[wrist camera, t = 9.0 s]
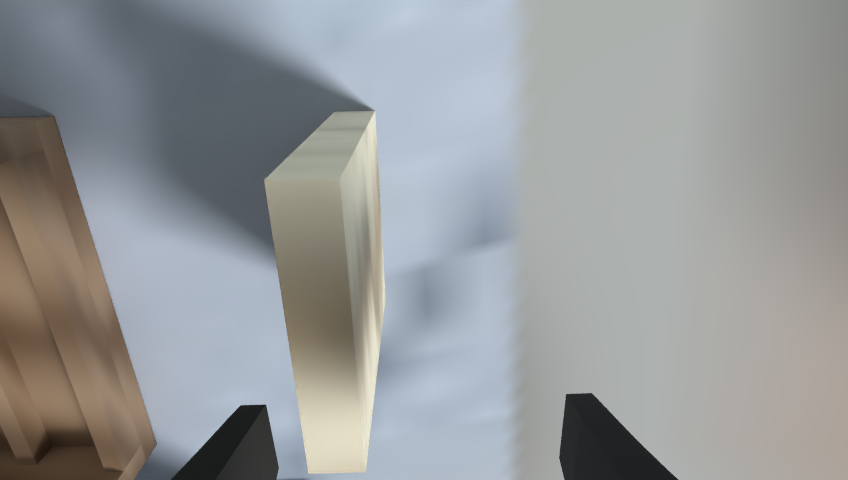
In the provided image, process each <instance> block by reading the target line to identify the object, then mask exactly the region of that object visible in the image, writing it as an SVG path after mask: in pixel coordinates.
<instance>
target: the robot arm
mask: <svg viewBox="0 0 848 480" xmlns="http://www.w3.org/2000/svg"><path fill="white" fill-rule="evenodd" d="M559 458H560V462H561V467H562V471H563V475H564V479H565V480H678V479H677V478H676V477H675V476H674V475H673V474H671V473H670V472H669V471H668V470H667V469H666V468H665V467H664V466H663V465H662V464H661V463H660V462H659V461H658V460H657V459H656V458H655V457H654V456H653V455H652V454H651V453H649V451H647V450H646V449H645V448H644V447H643V446H642V445H641V444H640V443H639V442H638V441H637V440H636V439H635V438H634V437H633V436H632V435H631V434H630V433H629V431H628V430H626V428H625V427H624V426H623V425H622V424H621V423H620V422H619V421H618V420H617V419H616V418H615V417H614V416H613V415H612V414H611V413H610V412H609V411H608V410H607V408H605V407H604V406H603V404H602V403H601V402H600V401H599V400H598V399H597V398H596V397H595V396H594V395H593V394H592V393H586V394H567V395H566V401H565V411H564V419H563V428H562V437H561V447H560V457H559ZM278 469H279V467H278V462H277V457H276V452H275V447H274V442H273V437H272V432H271V427H270V422H269V417H268V412H267V407H266V405H242V406H240V407H239V408H238V409H237V410H236V411H235V412H234V413H233V414H232V415H231V416H230V417H229V418H228V419H227V420H226V421H225V423H224V424H223V425H222V426H221V427H220V428H219V429H218V430H217V431H216V432H215V433H214V435H213V436H212V437H211V438H210V439H209V440H208V441H207V442H206V443H205V444H204V445H203V446H202V448H201V449H200V450H199V451H198V452H197V453H196V454H195V455H194V456H193V457H192V458H191V459H190V460H189V461H188V462H187V463H186V464H185V465H184V467H183V468H182V469H181V470H180V471H179V472H178V473H177V474H176V475H175V476H174V477H173V478H172V479H171V480H276V478H277V473H278Z"/></svg>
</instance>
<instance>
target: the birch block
mask: <svg viewBox="0 0 848 480" xmlns="http://www.w3.org/2000/svg"><path fill="white" fill-rule="evenodd" d="M264 184H265V190H266V197H267V203H268V210H269V216H270V223H271V230H272V236H273V243H274V249H275V256H276V262H277V269H278V276H279V282H280V289H281V295H282V302H283V308H284V315H285V322H286V328H287V335H288V341H289V348H290V354H291V361H292V368H293V374H294V381H295V387H296V394H297V400H298V407H299V414H300V420H301V427H302V433H303V440H304V446H305V453H306V460H307V466H308V473H309V474H315V473H355V472H366V464H367V456H368V447H369V438H370V429H371V421H372V412H373V403H374V394H375V386H376V377H377V368H378V359H379V351H380V342H381V333H382V324H383V316H384V307H385V283H384V265H383V247H382V228H381V210H380V192H379V174H378V155H377V137H376V119H375V111H343V112H334V113H333V114H332V115H330V116H329V117H328V118H327V119H326V120H325V121H324V122H323V123H322V124H321V125H320V126H319V127H318V128H317V129H316V130H315V131H314V132H313V133H312V134H311V135H310V136H309V137H308V138H307V139H306V140H305V141H304V142H303V143H302V144H301V145H300V146H299V147H297V148H296V149H295V150H294V151H293V152H292V153H291V154H290V155H289V156H288V157H287V158H286V159H285V160H284V161H283V162H282V163H281V164H280V165H279V166H278V167H277V168H276V169H275V170H274V171H273V172H272V173H271V174H270V175H269V176H268V177H267V178H266V179H264Z"/></svg>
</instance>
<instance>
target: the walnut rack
mask: <svg viewBox="0 0 848 480" xmlns="http://www.w3.org/2000/svg"><path fill="white" fill-rule="evenodd" d="M156 445H157V444H156V440H155V437H154V434H153V431H152V428H151V424H150V421H149V418H148V415H147V412H146V408H145V405H144V402H143V399H142V396H141V392H140V389H139V386H138V383H137V380H136V376H135V373H134V370H133V367H132V364H131V361H130V357H129V354H128V351H127V348H126V345H125V341H124V338H123V335H122V332H121V329H120V325H119V322H118V319H117V316H116V313H115V309H114V306H113V303H112V300H111V297H110V293H109V290H108V287H107V284H106V281H105V277H104V274H103V271H102V268H101V265H100V262H99V258H98V255H97V252H96V249H95V246H94V242H93V239H92V236H91V233H90V230H89V226H88V223H87V220H86V217H85V214H84V210H83V207H82V204H81V201H80V198H79V194H78V191H77V188H76V185H75V182H74V178H73V175H72V172H71V169H70V166H69V163H68V159H67V156H66V153H65V150H64V147H63V143H62V140H61V137H60V134H59V131H58V127H57V124H56V121H55V118H54V116H45V117H0V480H134V479H135V478H136V476H137V475H138V473H139V472H140V470H141V468H142V467H143V465H144V464H145V462H146V460H147V459H148V457H149V456H150V454H151V452H152V451H153V449H154V448H155V446H156Z"/></svg>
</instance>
